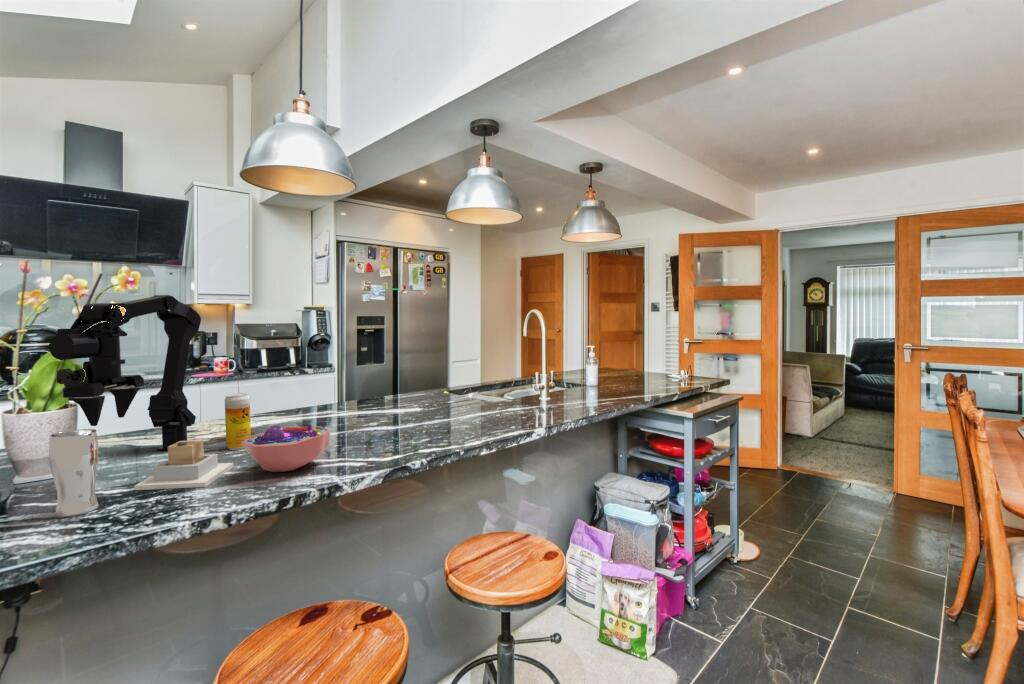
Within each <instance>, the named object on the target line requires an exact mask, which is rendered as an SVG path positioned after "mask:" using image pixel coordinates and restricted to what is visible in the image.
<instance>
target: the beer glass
mask: <svg viewBox="0 0 1024 684" xmlns="http://www.w3.org/2000/svg"><path fill="white" fill-rule="evenodd" d="M97 434H98V433H97V429H94V428H93V429H92V428H87V429H86V428H82V429H80V428H79V429H73V430H72V429H71V430H65V431H60V432H56V433H52V434H50V435H49V436H48V437H49V442H48V443H49V444H48V445H49V446H48V460H49V462H48V463H49V468H50V472H51V476H52V479H53V482H54V487H55V488H56V494H57V502H56V506H55V507H56V508H55V516H56V517H60V518H68V517H70V518H71V517H75V516H81V515H85V514H87V513H90V512H92V511H95V510H97V509H98V508H99V505H100V504H99V502H98V498H97V495H96V479H97V473H98V467H99V462H100V461H99V460H100V448H99V440H98V435H97Z"/></svg>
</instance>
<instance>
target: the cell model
mask: <svg viewBox="0 0 1024 684" xmlns="http://www.w3.org/2000/svg"><path fill="white" fill-rule="evenodd" d="M330 436H331V430H330V429H329V428H326V427H323V426H321V425H320V426H319V425H317V426H312V424H308V425H307V426H294V427H293V426H292V427H290V426H289V427H281V426H280V424H273V425H271V426H270V427H268V428H267V429H266V430H265V431H263V432H260V433H257V434H253V435H251V437H248V438H246V439H245V440H243V441H242V444H243V446H244V447H245V450H246V452H247V453H248V455H249V456H250V457H251V458H252V459H253V460H254V461H255V462H256V464H258V465H259V466H260V467H261V468H262V469H263V470H264V471H266V472H267V471H268V472H272V473H273V472H274V473H283V472H284V473H285V472H290V471H294V470H296V469H298V468H301V467H303V466H306V465H307V464H309V463H310V462H312V461H315V460H316V459H317V458H318V457H320V456H321V455H322V454H323V453H324V452H325V451H326V450H327V448H328V447H329V444H330Z"/></svg>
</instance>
